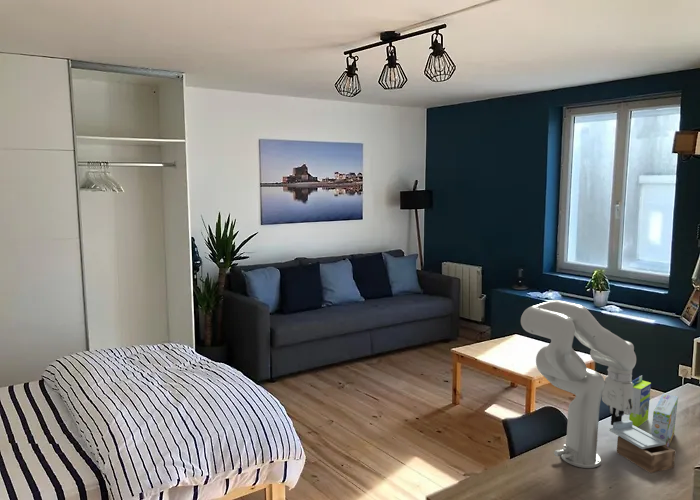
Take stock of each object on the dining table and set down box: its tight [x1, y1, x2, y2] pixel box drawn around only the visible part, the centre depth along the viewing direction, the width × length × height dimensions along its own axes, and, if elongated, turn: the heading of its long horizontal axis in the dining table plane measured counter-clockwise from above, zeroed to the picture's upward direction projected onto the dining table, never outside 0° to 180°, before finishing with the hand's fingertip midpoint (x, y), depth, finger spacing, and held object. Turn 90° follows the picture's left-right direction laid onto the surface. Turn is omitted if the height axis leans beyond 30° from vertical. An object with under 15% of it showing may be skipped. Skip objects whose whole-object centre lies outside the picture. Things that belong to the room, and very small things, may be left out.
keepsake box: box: [616, 435, 676, 474], centre depth 186 cm, size 10×14×6 cm
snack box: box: [650, 393, 679, 448], centre depth 198 cm, size 21×6×15 cm, turn 143°
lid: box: [609, 419, 666, 449], centre depth 189 cm, size 10×14×3 cm
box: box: [628, 375, 652, 428], centre depth 214 cm, size 10×4×17 cm, turn 132°
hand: (616, 425), depth 197 cm, fingers closed
